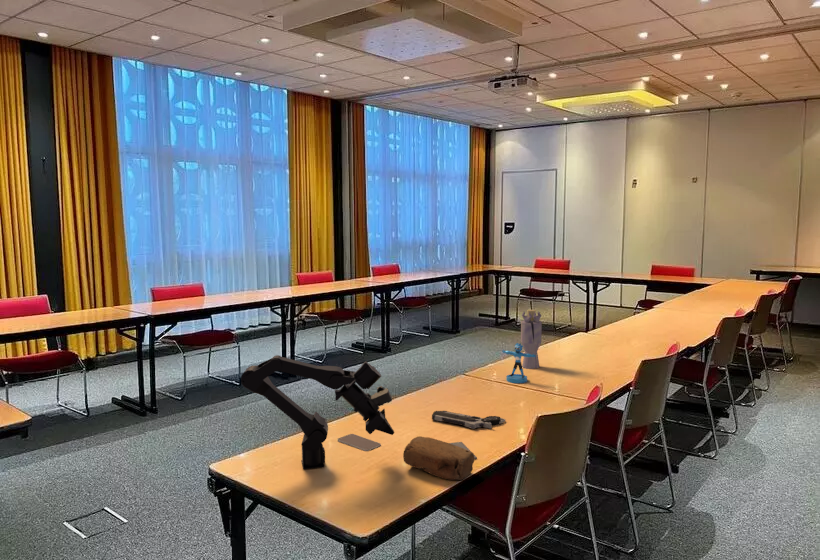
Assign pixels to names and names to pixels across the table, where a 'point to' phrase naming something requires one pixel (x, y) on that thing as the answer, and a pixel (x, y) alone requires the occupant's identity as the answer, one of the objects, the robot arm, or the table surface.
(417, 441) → the brown pitted rounded part
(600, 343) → the table surface
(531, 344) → the purple tower sculpture
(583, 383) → the table surface
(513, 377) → the figurine
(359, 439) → the smartphone
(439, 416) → the firearm
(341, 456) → the table surface
